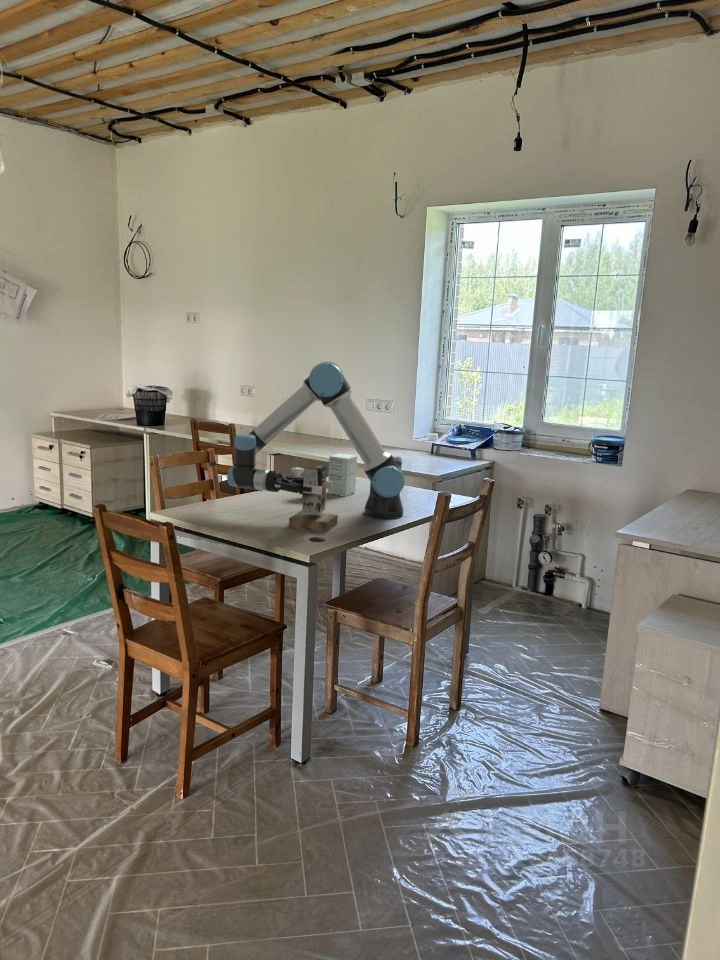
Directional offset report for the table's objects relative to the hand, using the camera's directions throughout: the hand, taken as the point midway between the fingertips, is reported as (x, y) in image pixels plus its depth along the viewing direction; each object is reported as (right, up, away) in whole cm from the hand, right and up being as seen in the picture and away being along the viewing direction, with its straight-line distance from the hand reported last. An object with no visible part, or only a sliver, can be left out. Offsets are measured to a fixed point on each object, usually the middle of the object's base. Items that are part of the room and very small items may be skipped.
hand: (326, 487), depth 235 cm
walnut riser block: (-5, -14, +4) cm, 16 cm away
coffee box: (-5, -9, +3) cm, 10 cm away
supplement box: (+4, -3, +59) cm, 60 cm away
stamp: (-17, 0, +70) cm, 72 cm away
